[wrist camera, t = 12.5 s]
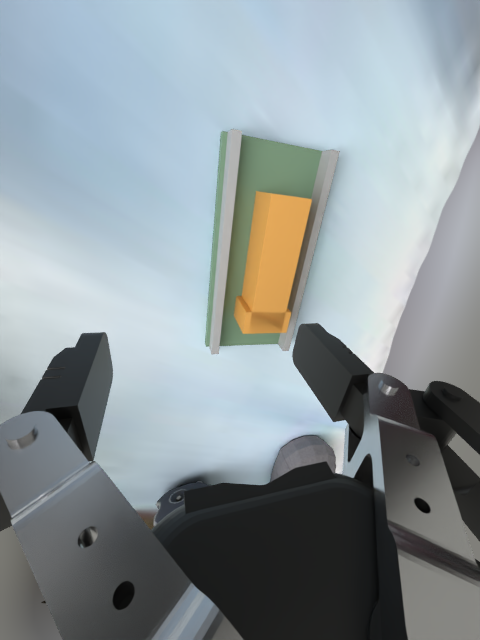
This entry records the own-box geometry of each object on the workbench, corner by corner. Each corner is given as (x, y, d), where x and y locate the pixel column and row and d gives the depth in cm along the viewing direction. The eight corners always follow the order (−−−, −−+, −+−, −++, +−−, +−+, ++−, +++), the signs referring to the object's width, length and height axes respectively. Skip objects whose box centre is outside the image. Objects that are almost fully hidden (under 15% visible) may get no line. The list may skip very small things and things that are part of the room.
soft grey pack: (315, 478, 68) (334, 425, 58) (333, 513, 60) (357, 460, 51) (261, 491, 64) (271, 437, 54) (273, 530, 57) (287, 476, 47)
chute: (249, 190, 29) (264, 192, 25) (297, 196, 31) (318, 200, 27) (233, 315, 36) (242, 333, 32) (272, 315, 38) (286, 332, 34)
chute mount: (220, 132, 27) (226, 127, 24) (328, 154, 30) (343, 152, 28) (205, 342, 39) (208, 354, 36) (284, 340, 42) (291, 350, 40)
